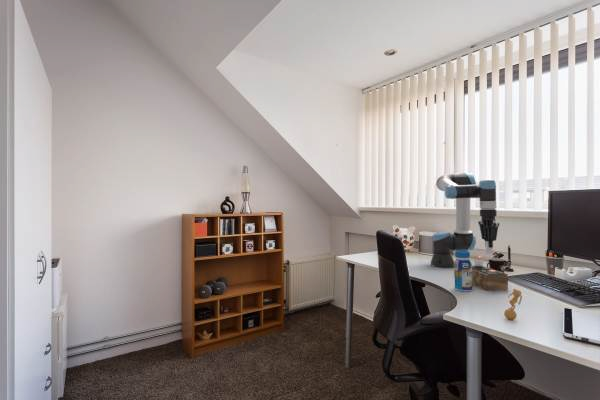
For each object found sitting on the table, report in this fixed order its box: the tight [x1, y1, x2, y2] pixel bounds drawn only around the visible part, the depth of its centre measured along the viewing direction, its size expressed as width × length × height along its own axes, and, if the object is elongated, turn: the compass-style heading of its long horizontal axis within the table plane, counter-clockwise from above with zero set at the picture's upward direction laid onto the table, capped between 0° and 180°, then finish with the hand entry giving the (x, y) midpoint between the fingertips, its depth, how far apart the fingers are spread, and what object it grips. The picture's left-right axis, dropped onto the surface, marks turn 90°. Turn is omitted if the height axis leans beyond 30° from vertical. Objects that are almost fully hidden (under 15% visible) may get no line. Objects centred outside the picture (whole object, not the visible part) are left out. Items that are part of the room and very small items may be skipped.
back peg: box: [473, 255, 484, 269], centre depth 169 cm, size 4×4×8 cm
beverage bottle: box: [453, 250, 473, 292], centre depth 158 cm, size 8×8×20 cm
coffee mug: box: [486, 257, 506, 273], centre depth 183 cm, size 12×9×10 cm
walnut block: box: [471, 265, 509, 292], centre depth 164 cm, size 18×11×9 cm, turn 5°
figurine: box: [503, 288, 523, 321], centre depth 119 cm, size 8×6×12 cm
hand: (489, 253), depth 161 cm, fingers closed
